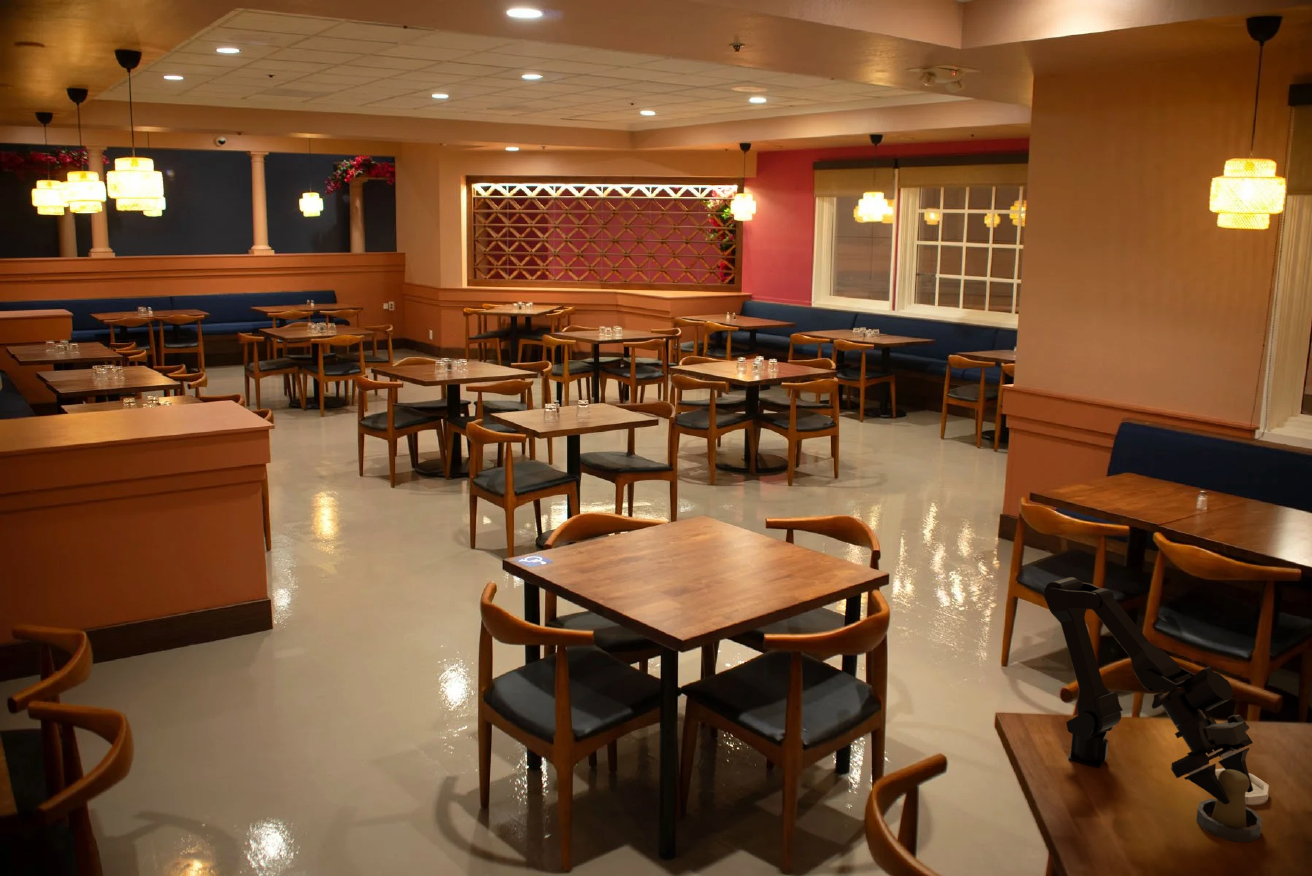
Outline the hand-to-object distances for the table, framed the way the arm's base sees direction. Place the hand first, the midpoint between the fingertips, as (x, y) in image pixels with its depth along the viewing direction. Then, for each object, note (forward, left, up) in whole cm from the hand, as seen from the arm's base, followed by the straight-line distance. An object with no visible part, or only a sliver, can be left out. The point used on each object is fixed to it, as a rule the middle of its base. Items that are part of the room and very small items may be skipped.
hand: (1239, 797), depth 197 cm
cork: (-1, +1, -7) cm, 7 cm away
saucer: (-1, +16, -7) cm, 17 cm away
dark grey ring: (-1, +1, -7) cm, 7 cm away
